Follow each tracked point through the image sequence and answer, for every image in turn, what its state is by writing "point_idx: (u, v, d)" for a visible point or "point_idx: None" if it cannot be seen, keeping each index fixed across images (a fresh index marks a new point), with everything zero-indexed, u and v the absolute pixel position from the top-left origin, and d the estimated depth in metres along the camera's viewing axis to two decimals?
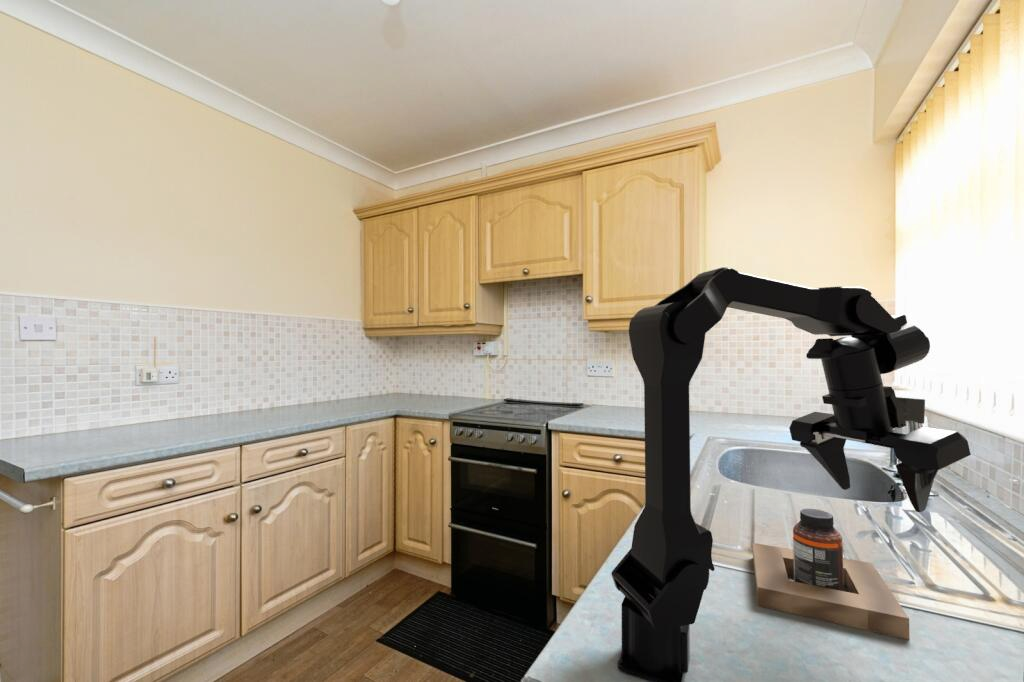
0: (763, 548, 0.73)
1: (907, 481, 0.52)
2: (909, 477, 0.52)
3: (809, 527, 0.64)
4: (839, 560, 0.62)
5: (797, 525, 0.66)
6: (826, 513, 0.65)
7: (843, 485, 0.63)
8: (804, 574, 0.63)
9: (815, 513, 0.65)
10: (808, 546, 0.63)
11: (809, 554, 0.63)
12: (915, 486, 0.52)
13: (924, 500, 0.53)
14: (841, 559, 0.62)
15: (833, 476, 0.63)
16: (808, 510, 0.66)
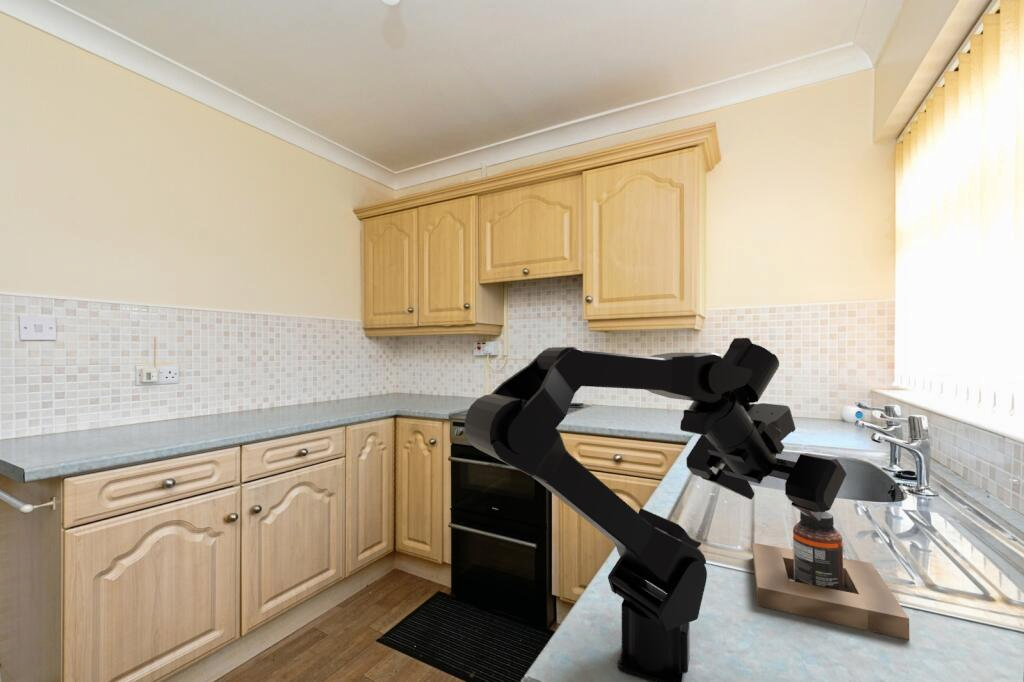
0: (763, 548, 0.73)
1: (804, 511, 0.54)
2: (805, 510, 0.53)
3: (809, 527, 0.64)
4: (839, 560, 0.62)
5: (797, 525, 0.66)
6: (826, 513, 0.65)
7: (749, 497, 0.65)
8: (804, 574, 0.63)
9: None
10: (808, 545, 0.63)
11: (809, 554, 0.63)
12: (812, 513, 0.54)
13: (820, 511, 0.56)
14: (841, 559, 0.62)
15: None
16: None
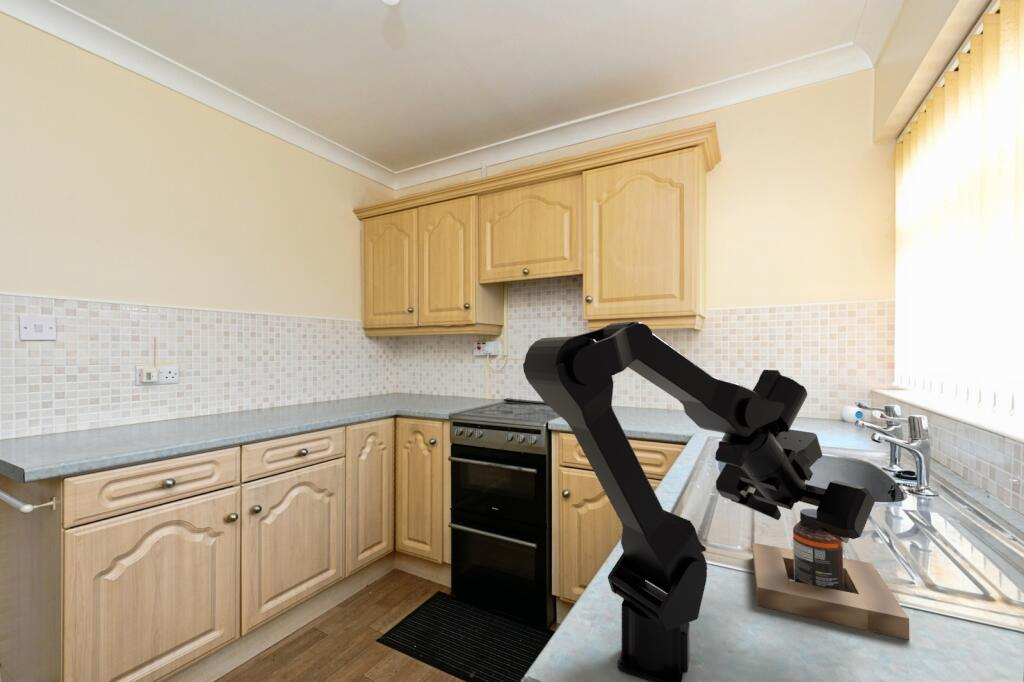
0: (763, 548, 0.73)
1: (834, 535, 0.57)
2: (835, 535, 0.56)
3: (809, 527, 0.64)
4: (839, 560, 0.62)
5: (797, 525, 0.66)
6: None
7: (776, 518, 0.67)
8: (804, 574, 0.63)
9: (815, 513, 0.65)
10: (808, 545, 0.63)
11: (809, 554, 0.63)
12: (841, 537, 0.57)
13: None
14: (841, 559, 0.62)
15: None
16: (808, 510, 0.66)
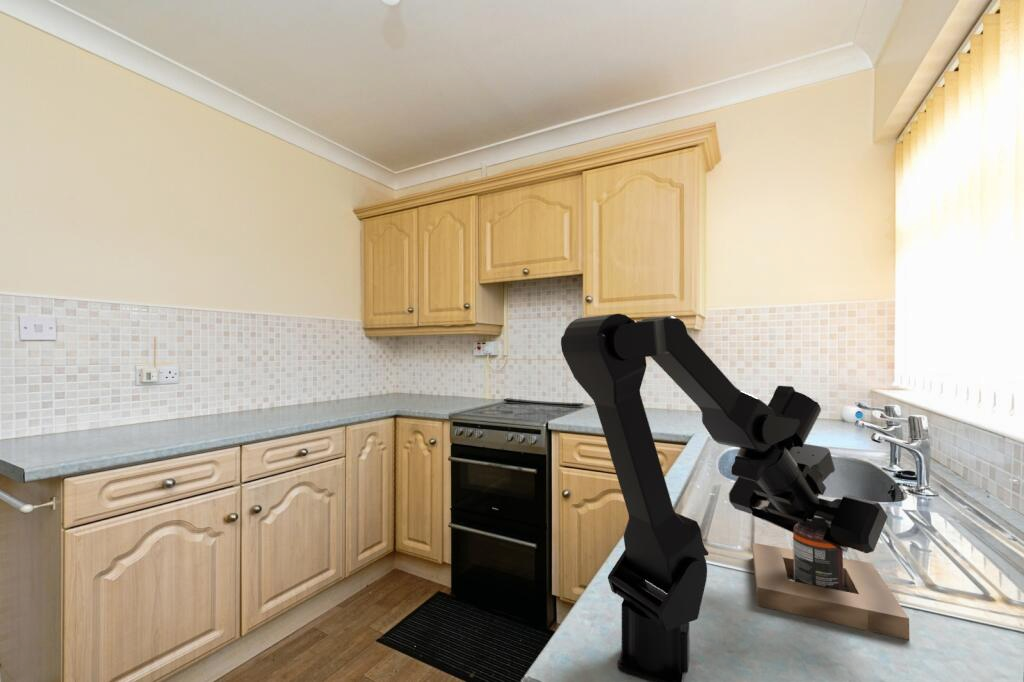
0: (763, 548, 0.73)
1: (834, 545, 0.59)
2: (836, 545, 0.59)
3: (809, 527, 0.64)
4: (839, 560, 0.62)
5: (797, 525, 0.66)
6: None
7: None
8: (804, 574, 0.63)
9: None
10: (808, 545, 0.63)
11: (809, 554, 0.63)
12: (841, 547, 0.59)
13: None
14: (841, 559, 0.62)
15: (788, 530, 0.67)
16: None
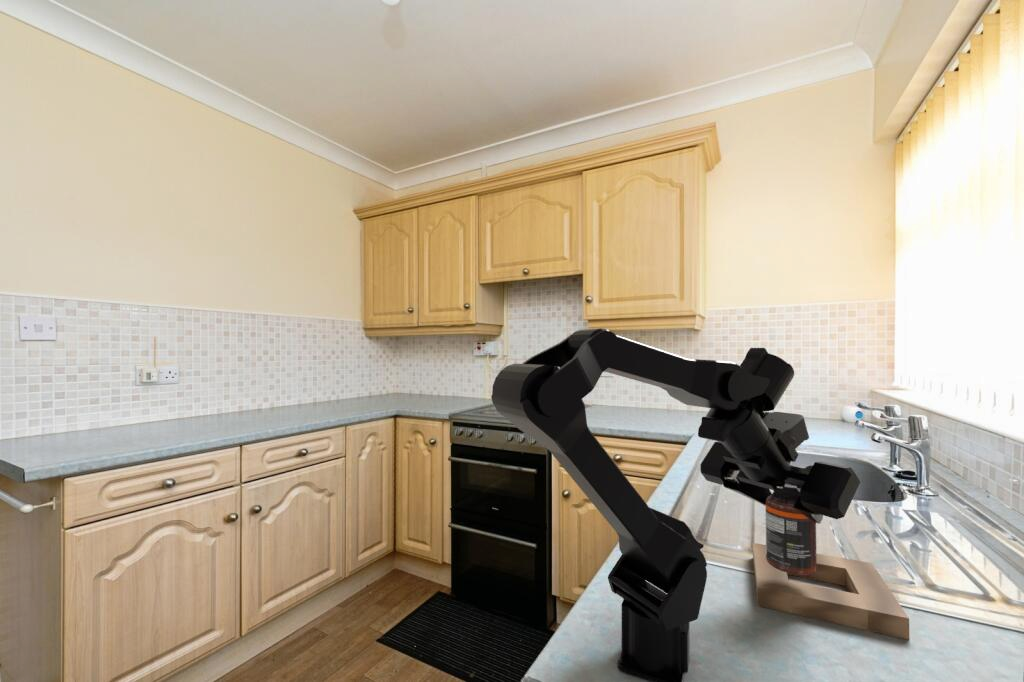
0: (763, 548, 0.73)
1: (805, 514, 0.56)
2: (806, 513, 0.56)
3: (781, 498, 0.61)
4: (811, 532, 0.59)
5: (770, 497, 0.63)
6: None
7: None
8: (775, 546, 0.60)
9: None
10: (780, 516, 0.60)
11: (781, 526, 0.60)
12: (812, 516, 0.56)
13: (820, 514, 0.59)
14: (814, 531, 0.59)
15: (761, 503, 0.64)
16: None
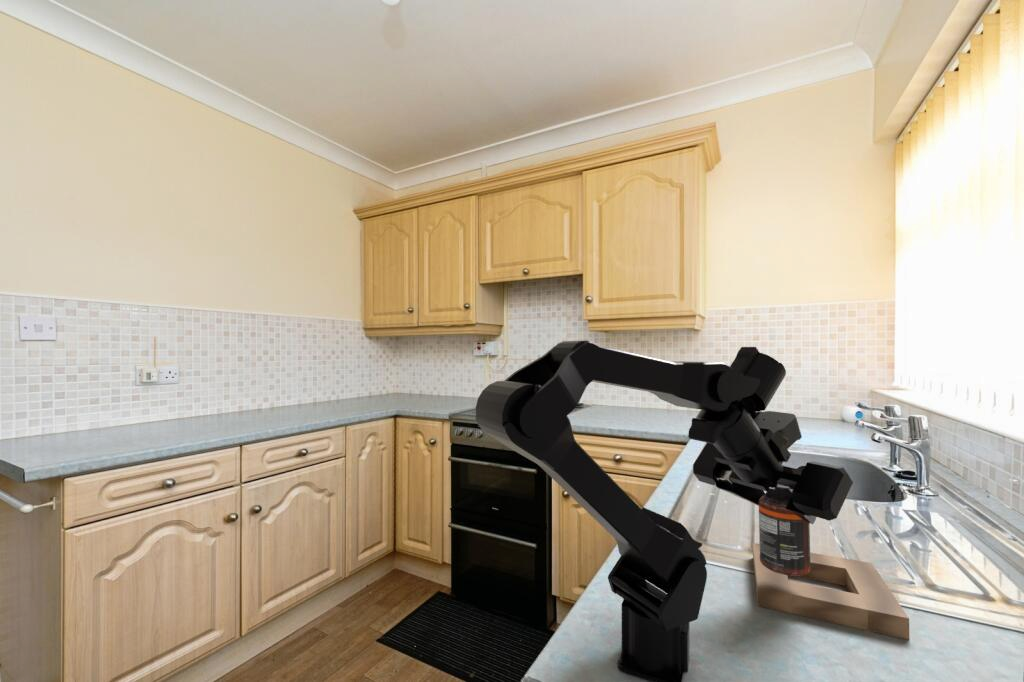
0: None
1: (798, 515, 0.56)
2: (799, 514, 0.55)
3: (774, 498, 0.60)
4: (804, 533, 0.58)
5: (763, 497, 0.62)
6: None
7: None
8: (769, 547, 0.60)
9: None
10: (773, 517, 0.59)
11: (774, 527, 0.59)
12: (805, 517, 0.56)
13: None
14: (807, 531, 0.59)
15: (754, 503, 0.64)
16: None
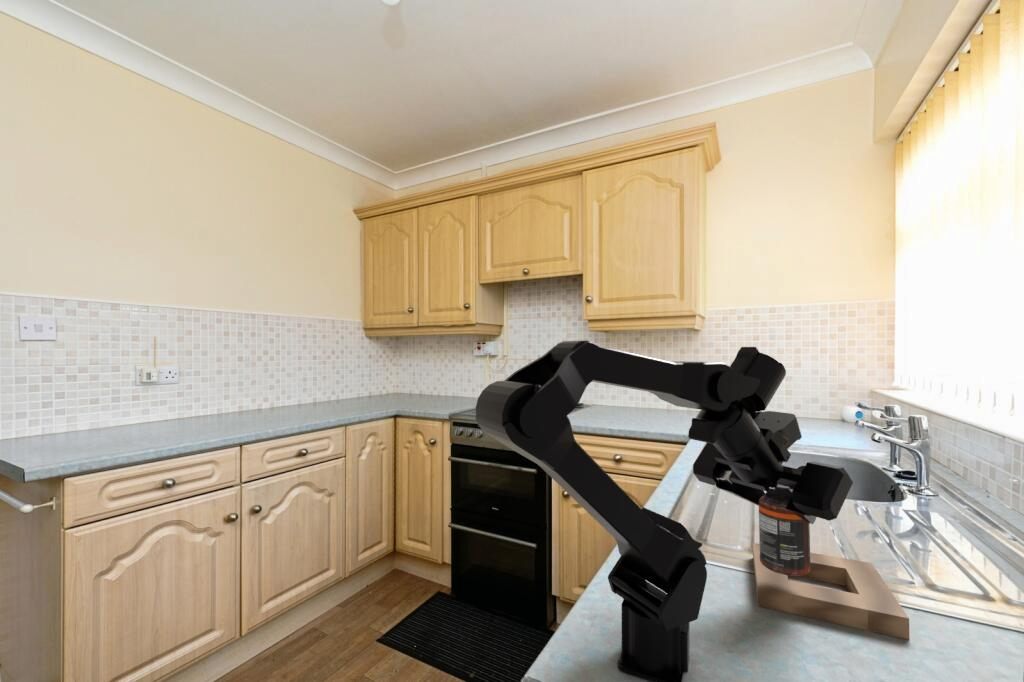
0: None
1: (798, 515, 0.56)
2: (799, 514, 0.55)
3: (774, 498, 0.60)
4: (804, 533, 0.58)
5: (763, 497, 0.62)
6: None
7: None
8: (769, 548, 0.60)
9: None
10: (773, 517, 0.59)
11: (774, 527, 0.59)
12: (805, 517, 0.56)
13: None
14: (807, 531, 0.59)
15: (754, 503, 0.64)
16: None
